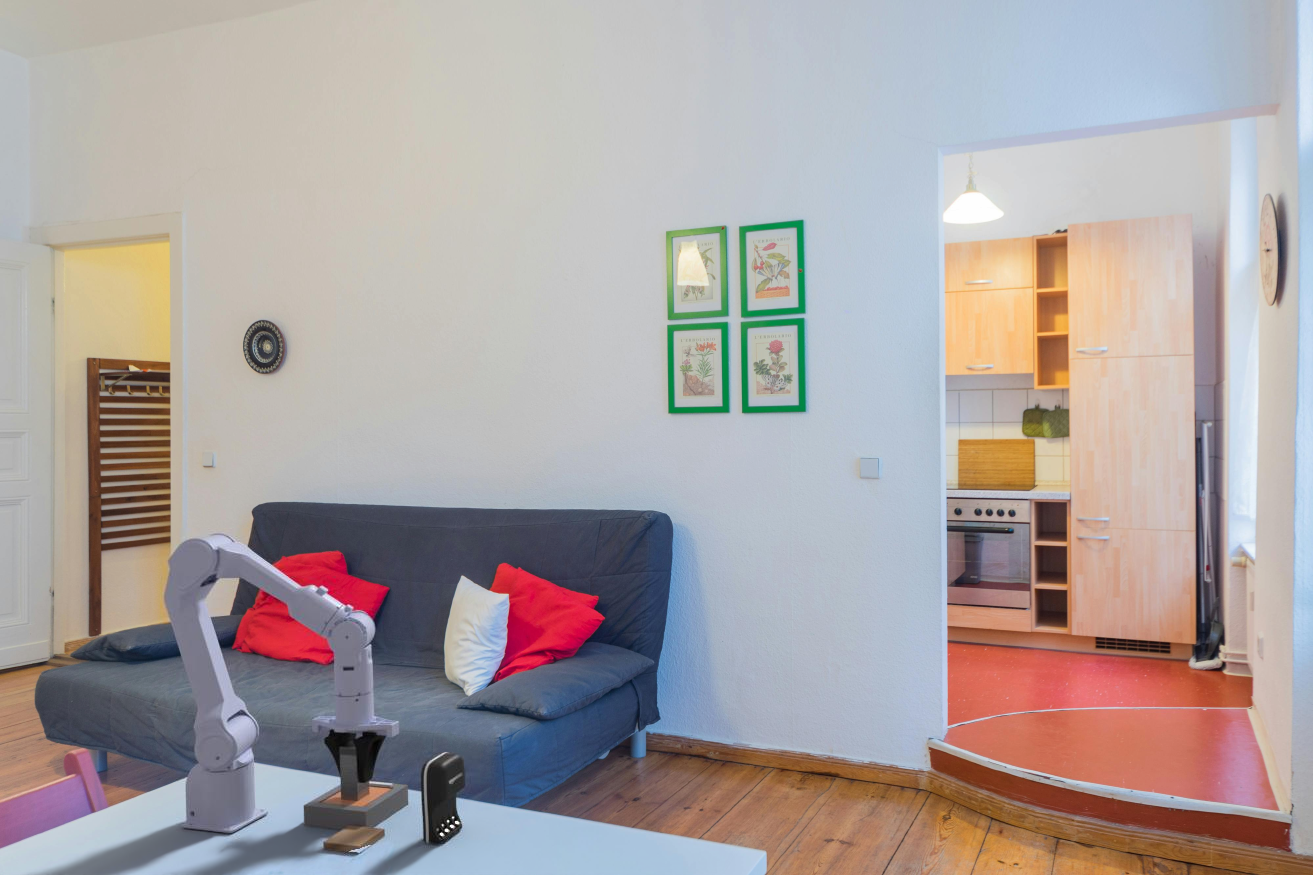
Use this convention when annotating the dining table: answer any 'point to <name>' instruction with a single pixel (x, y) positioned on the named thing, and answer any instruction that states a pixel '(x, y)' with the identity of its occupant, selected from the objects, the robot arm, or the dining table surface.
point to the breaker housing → (356, 808)
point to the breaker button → (362, 802)
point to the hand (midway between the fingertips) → (356, 779)
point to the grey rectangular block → (351, 774)
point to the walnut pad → (353, 838)
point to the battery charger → (441, 796)
